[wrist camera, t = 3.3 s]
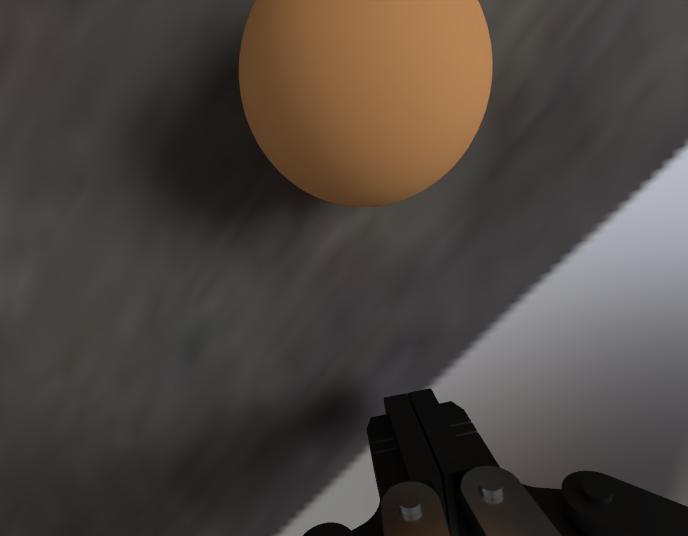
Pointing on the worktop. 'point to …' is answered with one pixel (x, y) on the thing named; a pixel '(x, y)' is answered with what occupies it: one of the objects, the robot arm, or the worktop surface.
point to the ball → (365, 92)
